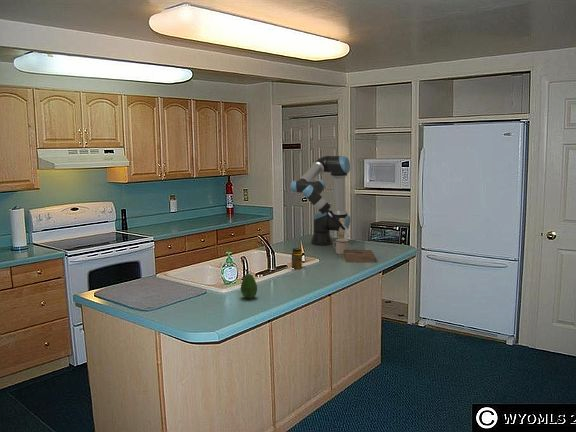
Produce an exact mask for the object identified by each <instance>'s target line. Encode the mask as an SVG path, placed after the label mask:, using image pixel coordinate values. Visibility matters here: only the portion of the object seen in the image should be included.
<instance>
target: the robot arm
mask: <svg viewBox="0 0 576 432" xmlns="http://www.w3.org/2000/svg"><path fill="white" fill-rule="evenodd" d="M350 171H351V162H350V160H349V158H348V157H347V156H345V155H344V156H343V155H324V156H322V157H319V158H317V159H316V160H315V161H313V162H312V164H311V167H309V168H308V170H307V171H306V172H304V173H303V175H302V176H301V177H300V178H299V179H298V180H292V181H291V183H290V191H291V192H293V193H301V194H302V195H303V196H304V197H305V198H306V199H307V200H308V202H310V203H311V204H312V205H313V207H314V208H316V210H318V211H319V212H317V213H314V215H313V216H314V217H313V234H312V237H311V239H310V240H311V241H310V243H311V244H312V245H314V246H329V245H330V246H331V245H333V241H332V237H331V234H330V231H334V232H336V231H337V232H339V227H340V228H341V229H342V230H343V231H344V232H345V234H346V235H348V234H349V233H350V229H349V227H350V225H351V216H350V215H349V214H348V211H347V210H346V177H347V176H348V174H349V173H350ZM323 173H330V176H331V177H332V202H333V203H332V204H333V205H332V206H333V207H332V208H333V209H332V210H330V209H331V205H330V204H329V202H327V200H326V199H325V198H324V197H323V196H322V195H321V194H322V192H323V191H324V190H325V188H326V182H325V181H324V180H323V179H316V178H317V177H319V175H321V174H323ZM314 180H315V181H314ZM339 218H345V226H344V225H343V224H342V223H341V222H340V221H339Z"/></svg>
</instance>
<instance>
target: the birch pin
mask: <svg viewBox="0 0 576 432" xmlns="http://www.w3.org/2000/svg"><path fill="white" fill-rule="evenodd" d="M339 221H340V222H341V223H342V224H343V225H344V226H345V218H339ZM345 234H346V233H345V232H344V231H343V230H342V229H341V228H340V227H339V231H338V239H344V238H345Z"/></svg>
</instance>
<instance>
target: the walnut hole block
mask: <svg viewBox="0 0 576 432" xmlns="http://www.w3.org/2000/svg"><path fill="white" fill-rule="evenodd" d="M343 259H344V261H345V263H375V262H376V260H375V259H376V255H375V253H374V252H373V250H372V249H349V250H344V254H343Z"/></svg>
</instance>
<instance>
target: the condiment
mask: <svg viewBox="0 0 576 432" xmlns="http://www.w3.org/2000/svg"><path fill="white" fill-rule="evenodd" d="M302 265H303V253H302V248H300V247H293V248H292V253H291V267H292V268H294V269H295V270H291V271H299V270H305V268H303V267H302Z"/></svg>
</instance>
